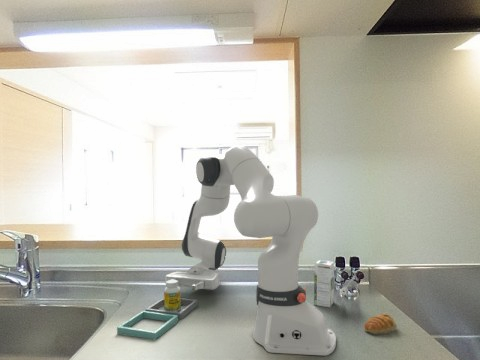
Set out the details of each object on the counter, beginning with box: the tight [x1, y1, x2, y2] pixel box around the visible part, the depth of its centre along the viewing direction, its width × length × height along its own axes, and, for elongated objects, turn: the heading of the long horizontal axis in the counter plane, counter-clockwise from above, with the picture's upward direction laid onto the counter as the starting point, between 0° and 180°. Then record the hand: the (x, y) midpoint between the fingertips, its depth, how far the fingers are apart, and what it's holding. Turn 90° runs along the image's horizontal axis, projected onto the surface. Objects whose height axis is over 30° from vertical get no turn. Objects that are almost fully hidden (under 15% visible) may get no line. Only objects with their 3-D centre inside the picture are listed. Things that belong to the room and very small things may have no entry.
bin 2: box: [144, 297, 199, 320], centre depth 116 cm, size 13×13×2 cm
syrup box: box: [313, 259, 335, 308], centre depth 120 cm, size 6×6×14 cm
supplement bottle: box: [163, 280, 182, 312], centre depth 116 cm, size 5×5×10 cm
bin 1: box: [116, 310, 179, 340], centre depth 102 cm, size 13×13×2 cm
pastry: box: [364, 313, 397, 335], centre depth 100 cm, size 9×7×4 cm
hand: (182, 286), depth 122 cm, fingers open, 8 cm apart
